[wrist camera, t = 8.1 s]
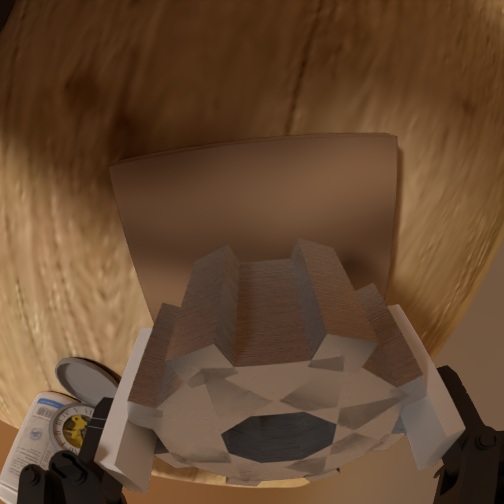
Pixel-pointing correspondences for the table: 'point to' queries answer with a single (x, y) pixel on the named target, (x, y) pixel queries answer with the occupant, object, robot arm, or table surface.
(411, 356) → the steel gear
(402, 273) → the table surface
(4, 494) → the supplement tub
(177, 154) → the gear board
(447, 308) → the table surface
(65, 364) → the pocket watch
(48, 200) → the table surface
